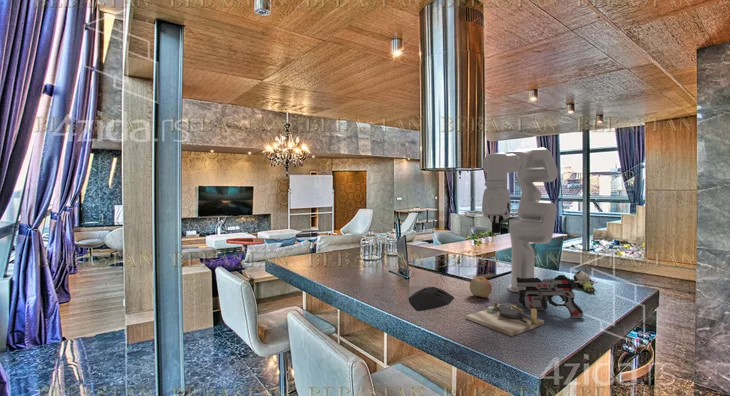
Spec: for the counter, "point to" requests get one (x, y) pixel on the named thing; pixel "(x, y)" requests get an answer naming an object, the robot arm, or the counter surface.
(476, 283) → the apple
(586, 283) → the toy
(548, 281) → the toy blaster
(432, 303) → the mask
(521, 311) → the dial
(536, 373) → the counter surface
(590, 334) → the counter surface
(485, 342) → the counter surface
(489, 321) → the board
